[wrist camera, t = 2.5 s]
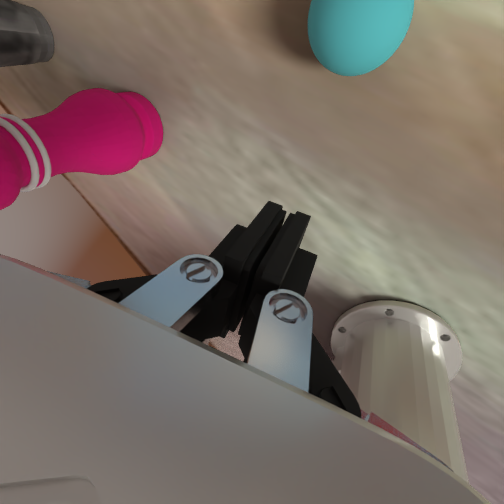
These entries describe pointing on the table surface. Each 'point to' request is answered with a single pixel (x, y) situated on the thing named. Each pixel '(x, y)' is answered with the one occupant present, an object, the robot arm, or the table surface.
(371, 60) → the ball
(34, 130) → the pepper mill
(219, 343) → the table surface
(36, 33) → the beverage cup
